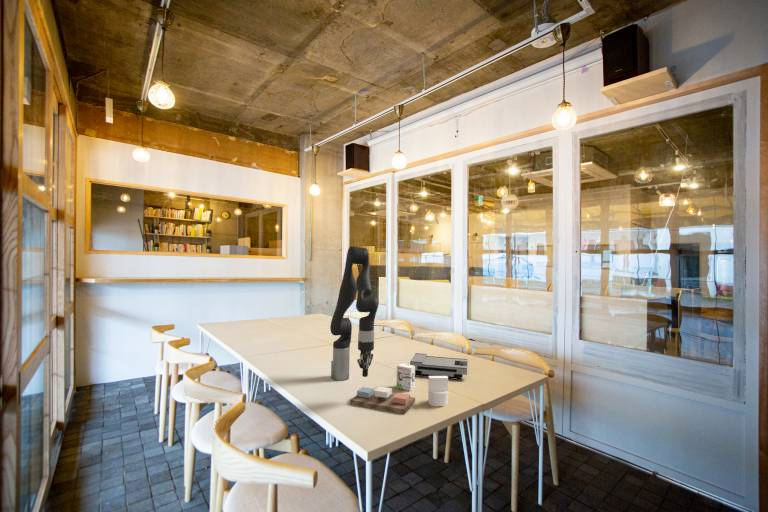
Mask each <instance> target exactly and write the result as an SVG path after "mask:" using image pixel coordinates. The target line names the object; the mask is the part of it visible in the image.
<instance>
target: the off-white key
mask: <svg viewBox="0 0 768 512" xmlns="http://www.w3.org/2000/svg"><path fill="white" fill-rule="evenodd" d="M374 391H375V396H378V397H384V398H388V397H389V396H390V395H391V394H393V388H392V387H391V388H390V387H384V386H379V387H377V388H376V389H374Z"/></svg>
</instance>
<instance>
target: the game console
mask: <svg viewBox="0 0 768 512" xmlns="http://www.w3.org/2000/svg"><path fill="white" fill-rule="evenodd" d="M409 365H413V366H415V375H422V376H421V377H424V376H447V377H448V378H458V379H459V378H463V376H467V375H468V359H467V358H456V357H447V356H445V357H444V356H443V357H442V356H432V355H427V353H417V352H416V353H414V355H413V356H412V358H411V360H410V361H409Z"/></svg>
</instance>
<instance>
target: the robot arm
mask: <svg viewBox="0 0 768 512" xmlns="http://www.w3.org/2000/svg"><path fill="white" fill-rule="evenodd" d="M353 265H361V266H362V269H361V271H360V272H359V274H358V276H357V277H356V278H355V276H354V274H353ZM344 266H345V267H344V269H343V270H344V272H343V275H342V280H341V283H340V287H339V292H338V297H337V302H336V306H335V310H334V312H333V316H332V318H331V321H330V325H329V326H330V327H329V328H330V330H329V331H330V333H331V334H332V335H333V336H335V337H336V336H339V337H338V338H337V339H336V340H334V341H333V343H332V360H331V361H330V365H331V366H330V378H331V380H332V379H333V380H335V381H346V380H349V379H350V353H351V352H350V351H351V349H350V347H351V342H352V329H353V324H352V320H351V319H350V318H349V317H344V316H345V314H346V312H347V311H348V310H349V308H350V307H351V306H352V305H353V304H354V302H356V303H355V308H356V310H357V312H359V313H368V315H365V316H362V317H360V318H359V321H358V322H359V323H358V337H357V338H358V339H357V349H358V351H360V353H359V354H360V355H359V356H360V357H359V358H357V364H358V367H359V369H362V373H361V374H362V376H361V377H364V378H367V377H368V376H369V368H370V366H371V364H372V362H373V357H374V353H372V351H373V350H375V319H376V315H377V312H378V309H379V301H378V298H377V297H375V296H371V295H372V294H373V289H372V284H371V283H372V282H371V277H370V275H371V273H370V271H371V270H370V269H371V268H370V267H371V266H370V253H369V250H368V249H367V248H366V247H362V246H354V245H351V246H349V247H348V249H347V252H346V258H345V264H344ZM356 296H357V297H356ZM356 298H357V299H356ZM355 300H356V301H355Z"/></svg>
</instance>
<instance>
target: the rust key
mask: <svg viewBox="0 0 768 512" xmlns="http://www.w3.org/2000/svg"><path fill="white" fill-rule="evenodd" d="M410 397H411V394H407V393H402V392H397V393H396V395H395V396H394V397H393V403H399V404H405V405H406V404H407V403H408V402H409V401H410Z"/></svg>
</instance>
